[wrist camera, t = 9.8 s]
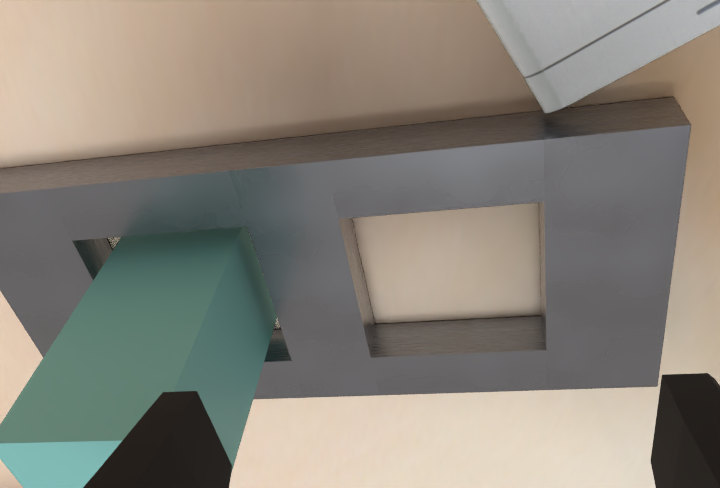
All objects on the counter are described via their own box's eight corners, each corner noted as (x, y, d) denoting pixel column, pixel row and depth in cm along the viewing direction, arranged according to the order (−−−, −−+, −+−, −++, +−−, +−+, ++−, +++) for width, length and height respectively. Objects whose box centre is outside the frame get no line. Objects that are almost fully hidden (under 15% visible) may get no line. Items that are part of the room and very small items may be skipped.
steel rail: (673, 96, 17) (691, 124, 16) (646, 351, 22) (657, 386, 21) (-29, 171, 21) (-59, 199, 19) (91, 373, 26) (73, 404, 25)
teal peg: (244, 220, 21) (153, 439, 14) (277, 316, 23) (211, 541, 17) (124, 231, 21) (-12, 443, 15) (168, 322, 24) (65, 540, 17)
